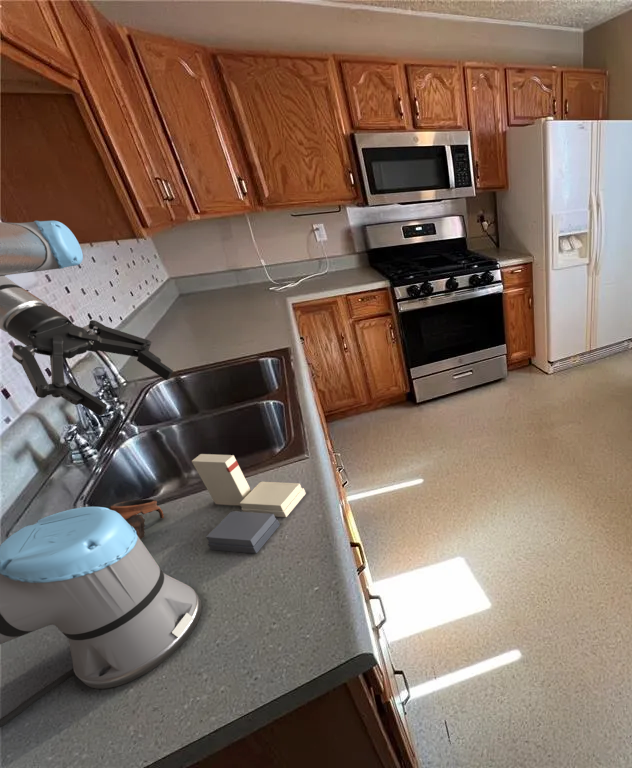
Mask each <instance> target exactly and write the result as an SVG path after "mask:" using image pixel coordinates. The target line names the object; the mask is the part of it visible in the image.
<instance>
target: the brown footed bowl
mask: <svg viewBox="0 0 632 768" xmlns="http://www.w3.org/2000/svg"><path fill="white" fill-rule="evenodd" d="M157 503H158V501H157V499H153V498H144V499H143V498H142V499H133V500H126V501H121V502H116V503H114V504H110V506H109V509H110V510H114V511H116V512H117V513H119V514H120V515H121V516H122V517H123V518H124V519H125V520H126V521H127V523H128V524H130V525H131V526H132V527H133V528H134V529H135V530H136V533H137V536H138V537H139V538H140V540H141V541H142V539H144V538H145V536H146V531H145V522H146V520H145V517H144V516H143V515H146V514H149V513H153V512H154V511H156V512H158V514H159V517H160V519H164V518H165V517H164V516H165V513H164V512H163V509H161V507H160V506H159V505H157Z"/></svg>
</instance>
